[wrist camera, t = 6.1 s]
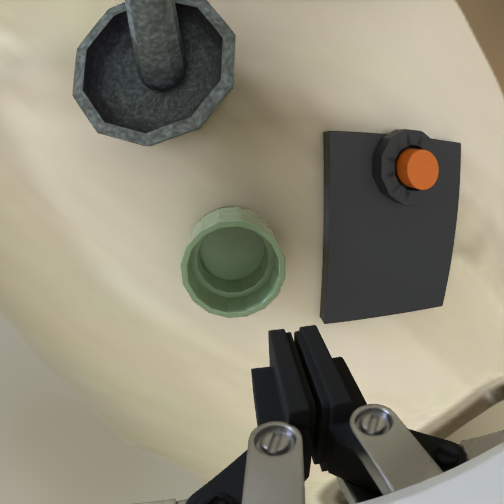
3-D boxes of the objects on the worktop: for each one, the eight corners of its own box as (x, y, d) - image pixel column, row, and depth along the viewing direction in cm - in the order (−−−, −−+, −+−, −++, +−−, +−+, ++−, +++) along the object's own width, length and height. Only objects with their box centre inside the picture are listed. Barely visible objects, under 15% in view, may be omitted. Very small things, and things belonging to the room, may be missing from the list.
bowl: (185, 209, 24) (175, 224, 20) (273, 203, 25) (284, 217, 20) (193, 289, 27) (188, 320, 22) (274, 284, 27) (285, 313, 22)
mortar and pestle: (229, 145, 23) (232, 144, 12) (109, 148, 22) (23, 157, 11) (235, 11, 19) (244, -78, 8) (119, 18, 19) (55, -50, 7)
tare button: (395, 147, 21) (407, 148, 20) (426, 150, 22) (439, 151, 20) (395, 186, 22) (406, 189, 21) (425, 187, 23) (438, 190, 21)
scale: (323, 126, 23) (335, 124, 20) (452, 137, 24) (472, 139, 21) (319, 316, 28) (329, 334, 26) (435, 300, 29) (450, 313, 26)
